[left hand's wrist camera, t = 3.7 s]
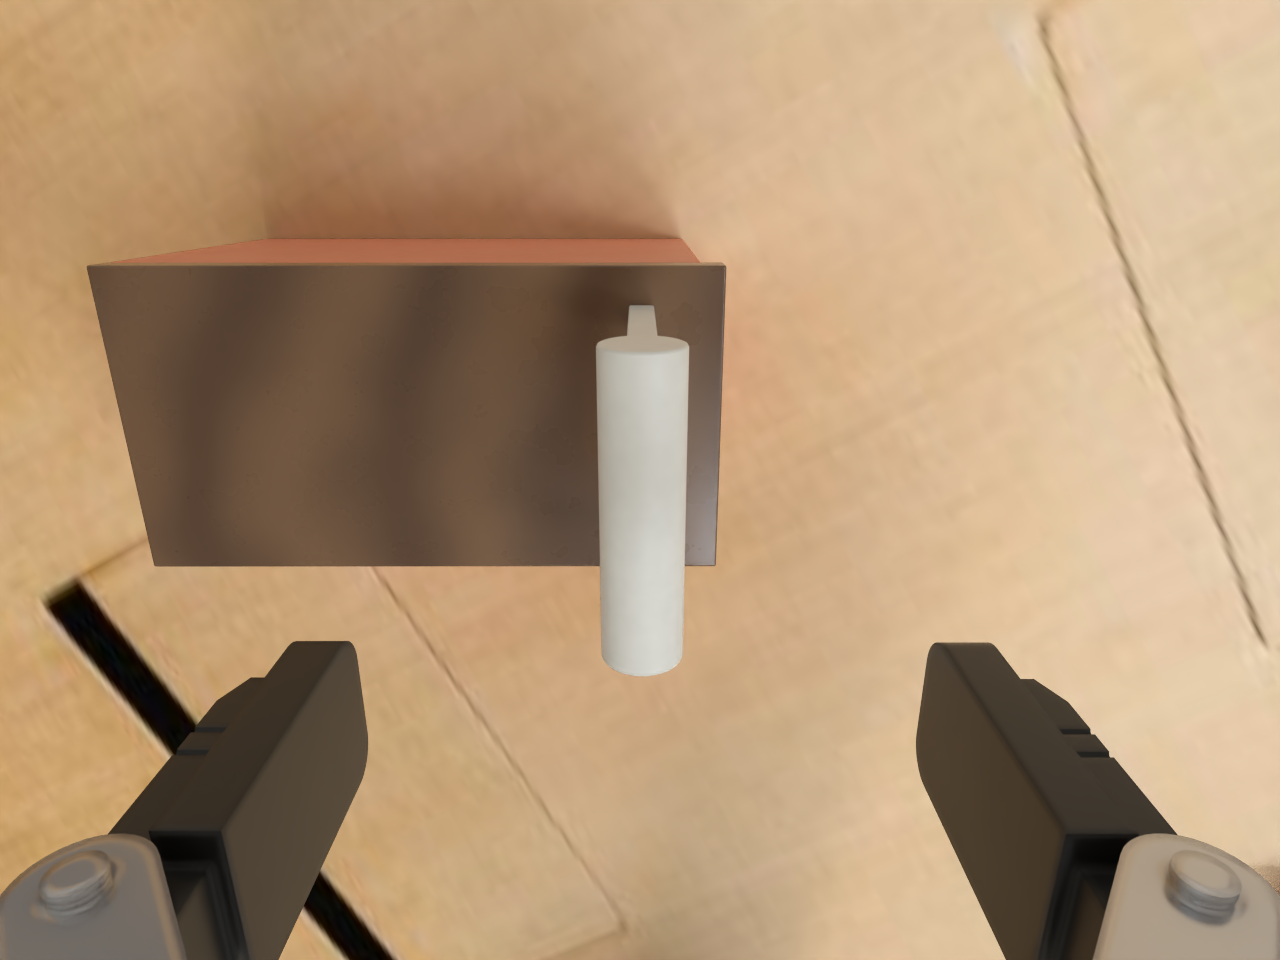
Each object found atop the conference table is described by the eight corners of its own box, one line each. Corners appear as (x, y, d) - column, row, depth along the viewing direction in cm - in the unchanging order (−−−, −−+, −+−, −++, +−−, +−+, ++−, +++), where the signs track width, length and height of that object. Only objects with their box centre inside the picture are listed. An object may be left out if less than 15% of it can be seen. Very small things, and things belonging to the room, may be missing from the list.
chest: (682, 238, 33) (701, 262, 24) (679, 452, 37) (694, 553, 27) (265, 238, 33) (107, 262, 23) (297, 453, 37) (171, 553, 27)
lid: (723, 262, 23) (766, 303, 15) (713, 553, 27) (745, 712, 19) (106, 262, 23) (-168, 303, 15) (170, 554, 27) (-31, 713, 19)
